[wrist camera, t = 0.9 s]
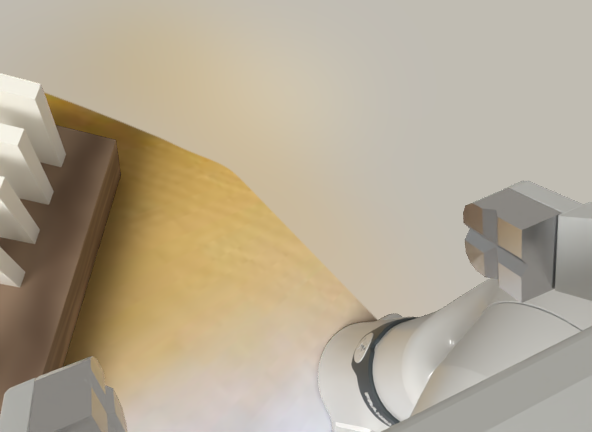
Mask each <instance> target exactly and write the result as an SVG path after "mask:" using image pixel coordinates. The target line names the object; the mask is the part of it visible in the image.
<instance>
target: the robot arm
mask: <svg viewBox="0 0 592 432" xmlns="http://www.w3.org/2000/svg"><path fill="white" fill-rule="evenodd" d="M463 219H464V223H465V225H466V226H468V227H469V228H470V230H469V232H468V234H467V236H466V238H465V248H466V254H467V256H468V258H469V260H470V263H471V264H472V266H473V267H474V268H475V269H476V270H477V271H478V272H479V273H480V274H482V275H483V276H484V277H488V278H490V279H488V280H486V281H484V282H483V283H481V284H479V285H478V286H476V287H474V288H473V289H471V290H470V291H468V292H467V293H465V294H463V295H462V296H460V297H459V298H457V299H456V300H454V301H453V302H451V303H449V304H448V305H447V306H445V307H444V308H442V309H440V310H438V311H436V312H434V313H431V314H428V315H425V316H422V317H402V316H400V315H399V314H389V315H387V316H384V317H383V318H381V319H379V320H377V321H374V322H361V323H355V324H352V325H349V326H347V327H345V328H343V329H342V330H340V331H339V332H338V333H336V334H335V335H334V336H333V337H332V338H331V340H330V341H329V342H328V344H327V345H326V347H325V349H324V351H323V353H322V356H321V359H320V362H319V368H318V385H319V391H320V395H321V398H322V401H323V403H324V405H325V407H326V409H327V411H328V413H329V416H330V418H331V424H332V432H592V202H588V203H586V204H581V203H579V202H577V201H575V200H572V199H570V198H568V197H565V196H563V195H561V194H558V193H556V192H554V191H551V190H549V189H547V188H544V187H542V186H539V185H537V184H535V183H533V182H531V181H521V182H518V183H516V184H514V185H512V186H509V187H507V188H505V189H503V190H501V191H499V192H497V193H494V194H492V195H490V196H487V197H485V198H482V199H480V200H478V201H475V202H473V203H471V204H468V205H466V206H465V209H464V212H463ZM0 432H127V425H126V421H125V417H124V413H123V409H122V407H121V404H120V402H119V399H118V397H117V395H116V393H115V391H114V389H113V388H111V387H108V386H105V378H104V371H103V369H102V367H101V365H100V364H99V362H98V360H97V359H96V358H95V357H94V356H91V357H88V358H85V359H83V360H80V361H78V362H75V363H72V364H70V365H67V366H64V367H62V368H59V369H57V370H54V371H51V372H49V373H46V374H44V375H41V376H38V377H37V378H33V379H31V380H28V381H26V382H23V383H21V384H18V385H16V386H13V387H11V388H9V389H8V390H7V391H6V392H5V394H4V398H3V403H2V409H1V414H0Z"/></svg>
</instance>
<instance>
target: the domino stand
mask: <svg viewBox="0 0 592 432" xmlns="http://www.w3.org/2000/svg"><path fill="white" fill-rule="evenodd" d="M56 128H57V131H58V133H59V136H60V139H61V142H62V145H63V147H64V150H65V153H66V156H65V159H64V162H63V164H62V167H58V166H54V165H49V164H45V163H41V162H40V163H41V165H42V168H43V170H44V172H45V174H46V176H47V178H48V180H49V182H50V184H51V186H52V189H53V191H54V192H53V195H52V198H51V201H50V204H49V205H47V204H43V203H38V202H34V201H29V200H24V199H20V198H19V199H20V201H21V202H22V204H23V205H24V207H25V208H26V210H27V211H28V213H29V214H30V216H31V217H32V219H33V220H34V222H35V223H36V225H37V226H38V228H39V229H40V231H39V234H38V237H37V240H36V243H35V244H31V243H27V242H22V241H17V240H12V239H7V238H2V237H0V247H1V248H2V249H3V250H4V251H5V252H6V253H7V254H8V255H9V256H10V257H11V258H12V259H13V260H14V261H15V262H16V263H17V264H18V265H19V266H20V267H21V268H22V269H23V270H24V271H25V275H24V278H23V281H22V284H21V286H20V287H15V286H10V285H4V284H0V414H1V409H2V403H3V398H4V394H5V392H6V391H7V390H8V389H9V388H11V387H13V386H16V385H18V384H21V383H23V382H26V381H28V380H31V379H33V378H37V377H38V376H41V375H44V374H46V373H49V372H51V371H54V370H57V369H59V368H62V367H63V365H64V361H65V358H66V355H67V351H68V348H69V345H70V341H71V338H72V335H73V332H74V328H75V325H76V322H77V318H78V315H79V312H80V308H81V305H82V302H83V298H84V295H85V292H86V288H87V285H88V282H89V278H90V275H91V272H92V269H93V265H94V262H95V259H96V255H97V252H98V249H99V245H100V242H101V239H102V235H103V232H104V229H105V225H106V222H107V219H108V215H109V212H110V209H111V206H112V202H113V199H114V196H115V192H116V189H117V186H118V182H119V179H120V176H121V172H120V165H119V158H118V151H117V144H116V140H114V139H110V138H106V137H102V136H98V135H94V134H90V133H86V132H82V131H78V130H74V129H70V128H66V127H61V126H57V125H56Z"/></svg>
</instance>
